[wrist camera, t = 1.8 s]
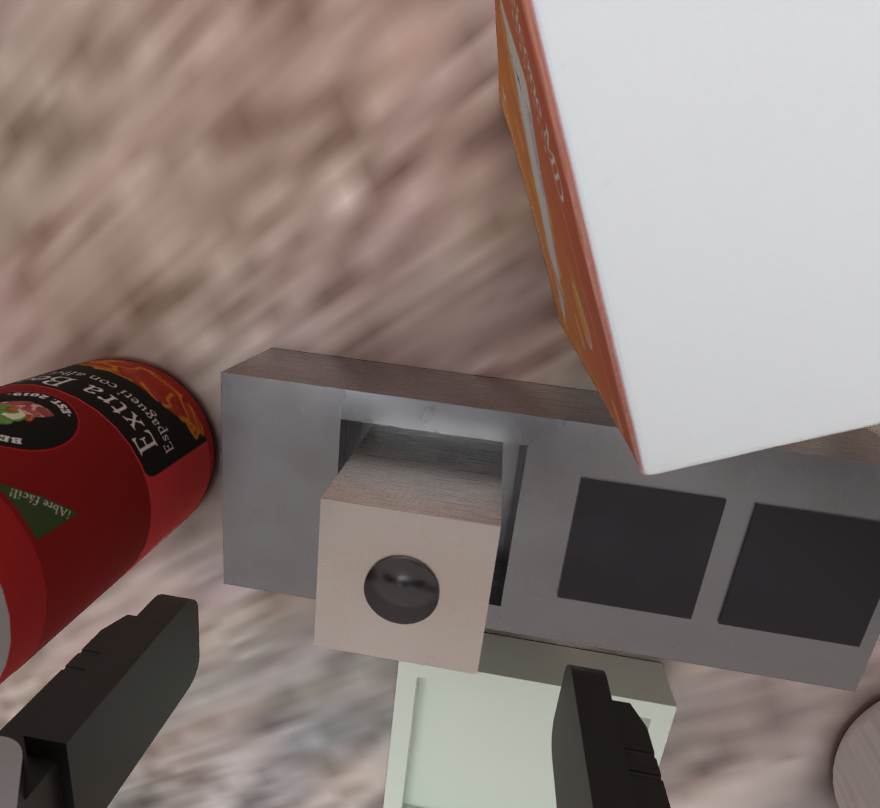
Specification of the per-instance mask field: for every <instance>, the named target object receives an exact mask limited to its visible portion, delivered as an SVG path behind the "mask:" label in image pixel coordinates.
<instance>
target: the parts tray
mask: <svg viewBox="0 0 880 808" xmlns="http://www.w3.org/2000/svg"><path fill="white" fill-rule="evenodd" d="M568 664H569V665H575V666H581V667H586V668H592V669H598V670H603V671H604V672H605V673H606V676H607V680H608V684H609V688H610V693H611V697H612V700H615V701H621V702H627V703H630V704H631V705H632V707H633V708H634V709H635V711H636V712H637V714H638V715H639V716H640V718H641V719H642V721H643V722H644V724H645V725H646V726H647V729H648V732H649V735H650V739H651V742H652V746H653V749H654V753H655V755H654V756H655V758H656V759H657V763H658V766H659V764H660V761H661V757H662V754H663V751H664V748H665V744H666V741H667V738H668V735H669V731H670V728H671V725H672V722H673V718H674V715H675V712H676V709H677V706H676V703H675V700H674V697H673V695H672V692H671V689H670V686H669V683H668V681H667V678H666V675H665V672H664V670H663V667H662V664H661V663H657V662H651V661H645V660H640V659H634V658H628V657H622V656H616V655H610V654H605V653H599V652H593V651H587V650H581V649H575V648H570V647H564V646H558V645H552V644H546V643H540V642H535V641H529V640H523V639H517V638H511V637H505V636H500V635H494V634H488V633H484V635H483V642H482V648H481V654H480V660H479V666H478V673H477V675H476V674H470V673H465V672H459V671H453V670H448V669H442V668H437V667H431V666H425V665H420V664H414V663H408V662H403V661H399V665H398V675H397V684H396V694H395V703H394V713H393V722H392V731H391V741H390V750H389V760H388V769H387V779H386V788H385V798H384V807H383V808H557V806H556V795H555V784H554V774H553V763H552V750H551V741H552V727H553V720H554V716H555V711H556V707H557V702H558V698H559V694H560V689H561V685H562V680H563V676H564V672H565V668H566V666H567V665H568Z"/></svg>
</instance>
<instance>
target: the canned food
mask: <svg viewBox="0 0 880 808" xmlns="http://www.w3.org/2000/svg"><path fill="white" fill-rule="evenodd" d="M214 456H215V453H214V444H213V437H212V434H211V431H210V428H209V424H208V422H207V420H206V418H205V416H204V414H203V412H202V410H201V408H200V406H199V405H198V404H197V402H196V401H195V400H194V399H193V397H192V396H191V395H190V393H189V392H188V391H187V390H186V389H184V388H183V387H182V386H181V385H180V384H179V383H178V382H177V381H176V380H174V379H173V378H171V377H170V376H168V375H166V374H165V373H163V372H162V371H160V370H157V369H155V368H153V367H150V366H148V365H145V364H141V363H136V362H131V361H124V360H115V359H97V360H92V361H88V362H83V363H79V364H76V365H72V366H69V367H65V368H62V369H59V370H55V371H52V372H48V373H45V374H41V375H38V376H35V377H31V378H28V379H24V380H21V381H17V382H14V383H11V384H7V385H4V386H0V684H1V683H2V682H3V681H4V680H5V679H6V678H8V677H9V676H10V675H11V674H13V673H14V672H15V671H16V670H18V669H19V668H20V667H21V666H22V665H23V664H25V663H26V662H27V661H28V660H29V659H30V658H31V657H32V656H34V655H35V654H36V653H37V652H38V651H39V650H40V649H41V648H42V647H44V646H45V645H46V644H47V643H48V642H49V641H50V640H51V639H53V638H54V637H55V636H56V635H57V634H58V633H59V632H60V631H61V630H63V629H64V628H65V627H66V626H67V625H68V624H69V623H70V622H72V621H73V620H74V619H75V618H76V617H77V616H78V615H79V614H80V613H82V612H83V611H84V610H85V609H86V608H87V607H88V606H89V605H91V604H92V603H93V602H94V601H95V600H96V599H97V598H98V597H99V596H101V595H102V594H103V593H104V592H105V591H106V590H107V589H108V588H110V587H111V586H112V585H113V584H114V583H115V582H116V581H117V580H119V579H120V578H121V577H122V576H123V575H124V574H125V573H126V572H127V571H129V570H130V569H131V568H132V567H133V566H134V565H135V564H136V563H138V562H139V561H140V560H141V559H142V558H143V557H144V556H145V555H146V554H148V553H149V552H150V551H151V550H152V549H153V548H154V547H155V546H157V545H158V544H159V543H160V542H161V541H162V540H163V539H164V538H165V537H167V536H168V535H169V534H170V533H171V532H172V531H173V530H174V529H176V528H177V527H178V526H179V525H180V524H181V523H182V522H183V521H184V520H186V519H187V517H188V516H189V515H190V514H191V513H192V512H193V511H194V510H195V509H196V508H197V506H198V504H199V502H200V501H201V499H202V497H203V496H204V494H205V491H206V489H207V487H208V485H209V482H210V479H211V476H212V472H213V467H214Z"/></svg>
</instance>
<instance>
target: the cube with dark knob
mask: <svg viewBox="0 0 880 808" xmlns="http://www.w3.org/2000/svg"><path fill="white" fill-rule="evenodd" d="M502 457H503V442H497V441H491V440H484V439H477V438H470V437H463V436H456V435H449V434H442V433H435V432H428V431H421V430H414V429H407V428H400V427H393V426H386V425H379V424H373V426H372V427H371V428H370V430H369V431H368V433H367V434H366V435H365V437H364V438H363V440H362V441H361V443H360V444H359V445H358V447H357V448H356V450H355V451H354V452H353V454H352V455H351V457H350V458H349V459H348V461H347V462H346V464H345V465H344V467H343V468H342V469H341V471H340V472H339V474H338V475H337V476H336V478H335V479H334V481H333V482H332V483H331V485H330V486H329V488H328V489H327V491H326V492H325V493H324V495H323V496H322V498H321V504H320V526H319V547H318V569H317V590H316V611H315V633H314V646H318V647H324V648H330V649H335V650H341V651H347V652H352V653H358V654H363V655H369V656H375V657H380V658H386V659H392V660H397V661H403V662H408V663H414V664H420V665H425V666H431V667H437V668H442V669H448V670H453V671H459V672H465V673H470V674H476V675H477V673H478V666H479V660H480V654H481V648H482V642H483V635H484V629H485V623H486V617H487V611H488V604H489V598H490V592H491V586H492V580H493V573H494V567H495V561H496V555H497V549H498V542H499V536H500V530H501V504H502Z"/></svg>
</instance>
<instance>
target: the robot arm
mask: <svg viewBox="0 0 880 808" xmlns="http://www.w3.org/2000/svg"><path fill="white" fill-rule="evenodd" d="M198 664H199V623H198V605H197V602H196V601H195V600H193V599H187V598H181V597H175V596H169V595H164V594H160V595H158V596H156V597H155V598H154V599H153V600H152V601H151V602H150V603H149V604H148V605H147V606H146V607H145V608H144V609H143V610H142V611H141V612H140V613H139V614H138V615H137V616H132V615H126V616H125V617H123V618H121V619H119V620H118V621H116V622H114V623H113V624H111V625H109V626H107V627H106V628H104V629H102V630H101V631H100V632H99V633H98V634H97V635H96V636H95V637H94V638H93V639H92V640H91V641H90V642H89V643H88V644H87V645H86V646H85V647H84V648H83V649H82V652H81V653H78V654H77V655H76V656H75V657H74V658H73V659H72V660H71V661H70V662H69V663H68V664H67V665H66V667H65V669H64V670H61V671H60V672H59V673H58V674H57V675H56V676H55V677H54V678H53V679H52V680H51V681H50V682H49V683H48V684H47V685H46V686H45V687H44V688H43V689H42V690H41V691H40V692H39V693H38V694H37V695H36V696H35V697H34V698H33V699H32V700H31V701H30V702H29V703H28V704H27V705H26V706H25V707H24V708H23V709H22V710H21V711H20V712H19V713H18V714H17V715H16V716H15V717H14V718H13V719H12V720H11V721H10V722H8V723H7V724H6V725H5V726H4V727H3V728H2V729H1V730H0V808H107V807H108V805H109V804H110V802H111V801H112V799H113V798H114V796H115V795H116V793H117V792H118V791H119V789H120V788H121V786H122V785H123V783H124V782H125V780H126V779H127V777H128V776H129V775H130V773H131V772H132V770H133V769H134V767H135V766H136V764H137V763H138V761H139V760H140V759H141V757H142V756H143V754H144V753H145V751H146V750H147V748H148V747H149V745H150V744H151V742H152V741H153V740H154V738H155V737H156V735H157V734H158V732H159V731H160V729H161V728H162V726H163V725H164V724H165V722H166V721H167V719H168V718H169V716H170V715H171V713H172V712H173V710H174V709H175V708H176V706H177V705H178V703H179V702H180V700H181V699H182V697H183V696H184V694H185V693H186V691H187V690H188V689H189V687H190V685H191V683H192V681H193V679H194V677H195V674H196V671H197V668H198ZM551 750H552V763H553V774H554V784H555V795H556V806H557V808H671V807H670V804H669V801H668V797H667V794H666V790H665V787H664V783H663V781H661V773H660V770H659V766H658V763H657V759H656V758H655V756H654V755H655V753H654V749H653V746H652V742H651V739H650V735H649V732H648V729H647V726H646V725H645V724H644V722H643V721H642V719H641V718H640V716H639V715H638V714H637V712H636V711H635V709H634V708H633V707H632V705H631V704H630V703H627V702H621V701H615V700H612V697H611V693H610V688H609V684H608V680H607V676H606V673H605V672H604V671H603V670H598V669H592V668H586V667H581V666H575V665H569V664H568V665H567V666H566V668H565V672H564V676H563V680H562V685H561V689H560V694H559V698H558V702H557V707H556V711H555V716H554V720H553V727H552V741H551Z"/></svg>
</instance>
